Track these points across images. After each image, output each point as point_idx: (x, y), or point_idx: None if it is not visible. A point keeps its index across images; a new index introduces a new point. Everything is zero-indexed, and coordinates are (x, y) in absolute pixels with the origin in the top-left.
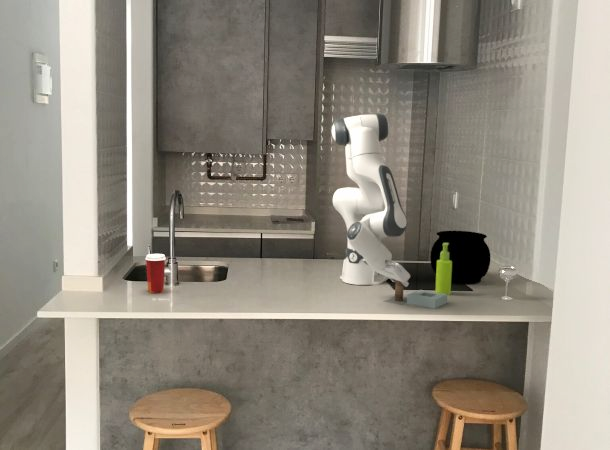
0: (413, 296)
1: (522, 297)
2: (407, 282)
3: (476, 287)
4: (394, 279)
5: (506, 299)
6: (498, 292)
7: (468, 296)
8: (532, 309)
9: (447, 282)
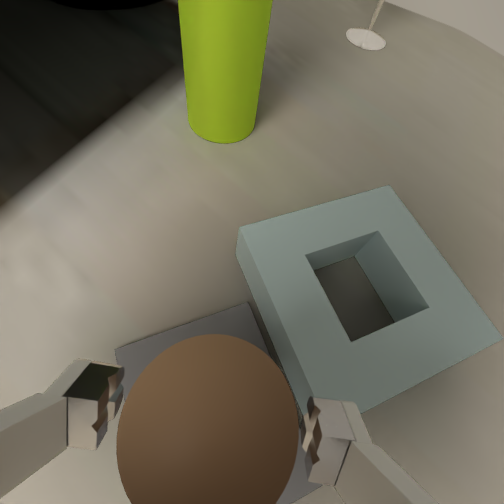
0: (376, 405)
1: (371, 12)
2: (361, 424)
3: None
4: (105, 409)
5: (381, 46)
6: (297, 9)
7: (300, 86)
8: (501, 76)
9: (262, 69)
